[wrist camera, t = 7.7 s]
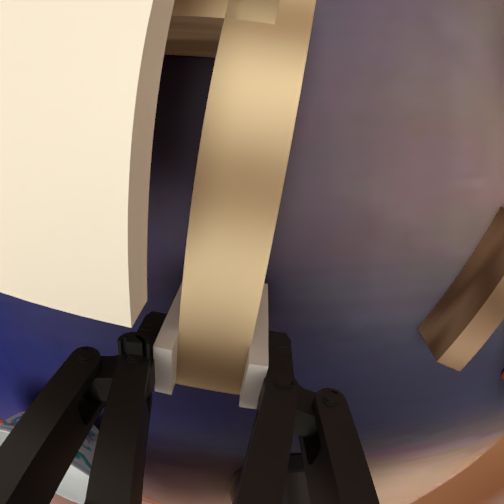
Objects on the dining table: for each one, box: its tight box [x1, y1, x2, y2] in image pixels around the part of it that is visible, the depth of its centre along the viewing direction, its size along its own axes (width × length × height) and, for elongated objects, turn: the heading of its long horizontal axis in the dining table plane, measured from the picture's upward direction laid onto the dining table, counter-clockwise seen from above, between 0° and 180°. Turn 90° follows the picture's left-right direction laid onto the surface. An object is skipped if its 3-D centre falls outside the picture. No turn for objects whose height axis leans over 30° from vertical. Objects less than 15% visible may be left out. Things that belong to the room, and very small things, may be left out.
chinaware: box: [0, 411, 99, 504], centre depth 25 cm, size 15×15×8 cm
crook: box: [164, 0, 316, 395], centre depth 14 cm, size 18×10×6 cm, turn 170°
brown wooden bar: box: [418, 207, 504, 371], centre depth 18 cm, size 11×3×4 cm, turn 152°
